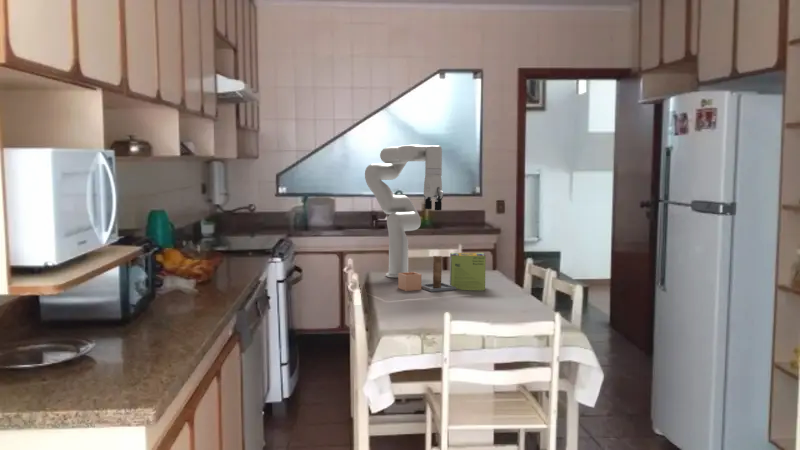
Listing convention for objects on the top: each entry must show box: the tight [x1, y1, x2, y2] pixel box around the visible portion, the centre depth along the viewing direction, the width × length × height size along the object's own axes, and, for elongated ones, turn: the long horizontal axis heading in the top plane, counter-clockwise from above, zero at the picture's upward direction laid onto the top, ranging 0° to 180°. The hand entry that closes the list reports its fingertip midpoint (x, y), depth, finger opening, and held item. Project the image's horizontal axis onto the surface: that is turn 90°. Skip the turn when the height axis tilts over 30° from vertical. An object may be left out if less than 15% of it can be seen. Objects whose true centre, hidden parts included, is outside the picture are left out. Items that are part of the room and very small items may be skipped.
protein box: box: [449, 252, 487, 291], centre depth 325 cm, size 10×15×16 cm
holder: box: [397, 271, 422, 292], centre depth 319 cm, size 8×8×8 cm
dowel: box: [432, 255, 443, 288], centre depth 319 cm, size 4×4×14 cm
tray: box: [421, 282, 457, 293], centre depth 319 cm, size 12×12×2 cm
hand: (433, 209), depth 336 cm, fingers open, 9 cm apart
